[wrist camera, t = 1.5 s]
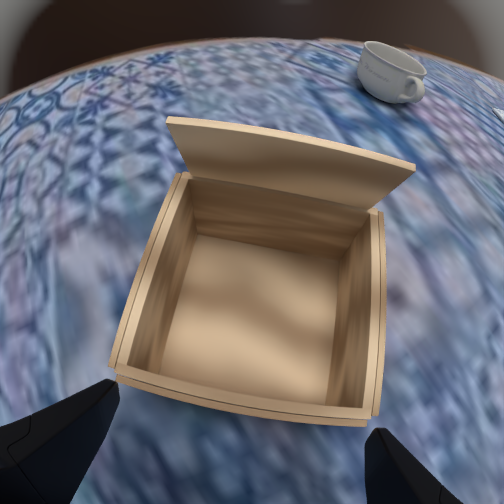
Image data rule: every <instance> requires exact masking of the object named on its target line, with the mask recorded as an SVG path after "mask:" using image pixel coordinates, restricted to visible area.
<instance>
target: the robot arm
mask: <svg viewBox="0 0 504 504" xmlns="http://www.w3.org/2000/svg"><path fill="white" fill-rule="evenodd" d="M119 401H120V396H119V388H118V383H117V382H116V381H113V380H110V379H104V380H102V381H100V382H98V383H96V384H94V385H92V386H90V387H88V388H86V389H84V390H82V391H80V392H78V393H76V394H74V395H72V396H70V397H68V398H66V399H63V400H61V401H59V402H57V403H55V404H53V405H51V406H49V407H46V408H44V409H42V410H40V411H38V412H36V413H34V414H32V416H31V415H29V416H27V417H25V418H22V419H20V420H17V421H15V422H13V423H10V424H7V425H4V426H1V427H0V504H70V503H71V501H72V499H73V497H74V495H75V493H76V491H77V489H78V487H79V485H80V483H81V481H82V480H83V478H84V476H85V474H86V472H87V470H88V468H89V466H90V465H91V463H92V461H93V459H94V457H95V455H96V454H97V452H98V450H99V448H100V446H101V444H102V443H103V441H104V439H105V437H106V435H107V432H108V430H109V427H110V425H111V422H112V420H113V417H114V415H115V412H116V410H117V407H118V405H119ZM365 488H366V497H367V504H463V503H462V502H461V501H460V500H458V499H457V498H456V497H455V496H454V495H453V494H452V493H451V492H449V491H448V490H447V489H446V488H445V487H444V486H443V485H442V484H441V483H440V482H439V481H438V480H437V479H436V478H435V477H434V476H433V475H432V474H431V473H430V472H429V471H428V470H427V469H426V468H425V467H424V466H423V465H422V464H421V463H420V462H419V461H418V460H417V459H416V458H415V457H414V456H413V455H412V454H411V453H410V452H409V451H408V450H407V449H406V448H405V447H404V446H403V445H402V444H401V443H400V442H399V441H398V440H397V439H396V438H395V437H394V436H393V435H392V434H391V433H390V431H389V430H388V429H386V428H375V429H374V430H373V431H372V433H371V434H370V436H369V437H368V439H367V440H366V443H365Z"/></svg>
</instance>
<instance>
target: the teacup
mask: <svg viewBox="0 0 504 504" xmlns="http://www.w3.org/2000/svg"><path fill="white" fill-rule="evenodd" d="M426 74H427V72H426V69H425V68H424V67H423V66H422V65H421V64H420V63H419V62H418V61H417V60H415V59H414V58H412V57H411V56H409V55H408V54H406V53H404V52H402V51H400V50H398V49H396V48H394V47H391V46H389V45H386V44H383V43H379V42H375V41H367V42H365V43H364V48H363V51H362V54H361V57H360V60H359V64H358V68H357V75H358V78H359V80H360V82H361V83H362V85H363V87H364V88H365V89H366V91H367V92H369V93H370V94H371V95H373V96H374V97H376V98H378V99H380V100H382V101H385V102H388V103H405V102H411V103H416V102H419V101H420V100H421V99H422V98H423V96H424V93H425V87H424V84H423V82H422V80H423V78H424V76H425V75H426Z"/></svg>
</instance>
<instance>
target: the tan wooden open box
mask: <svg viewBox="0 0 504 504" xmlns="http://www.w3.org/2000/svg"><path fill="white" fill-rule="evenodd" d="M385 334H386V249H385V230H384V216H383V212H380V211H378V209H377V208H373V207H372V208H370V209H369V210H368V209H363V208H359V207H355V206H351V205H346V204H342V203H337V202H333V201H328V200H323V199H319V198H314V197H309V196H304V195H299V194H294V193H289V192H284V191H279V190H274V189H268V188H263V187H257V186H251V185H246V184H240V183H234V182H228V181H222V180H215V179H209V178H202V177H195V176H191V174H190V172H183V173H176V175H175V177H174V179H173V181H172V184H171V186H170V188H169V191H168V193H167V195H166V198H165V200H164V203H163V205H162V207H161V210H160V212H159V215H158V217H157V220H156V222H155V225H154V227H153V230H152V232H151V235H150V237H149V240H148V243H147V245H146V248H145V251H144V253H143V256H142V259H141V262H140V264H139V267H138V270H137V273H136V276H135V279H134V282H133V284H132V287H131V290H130V293H129V296H128V299H127V303H126V306H125V309H124V312H123V315H122V318H121V322H120V325H119V328H118V332H117V335H116V338H115V342H114V345H113V349H112V353H111V356H110V360H109V364H108V367H111V368H114V369H115V370H114V372H115V373H118V374H121V375H124V376H127V377H124V376H121V375H118V374H117V376H116V380H115V381H117V382H120V383H123V384H126V385H129V386H132V387H135V388H138V389H141V390H144V391H148V392H151V393H154V394H158V395H161V396H165V397H168V398H172V399H176V400H180V401H184V402H188V403H192V404H196V405H200V406H204V407H209V408H213V409H218V410H223V411H228V412H233V413H238V414H244V415H250V416H256V417H262V418H269V419H276V420H283V421H291V422H300V423H310V424H322V425H336V426H356V427H366V426H367V420H359V419H371V416H378V415H379V407H380V399H381V389H382V379H383V367H384V353H385ZM128 377H130V378H128ZM131 378H133V379H131ZM134 379H136V380H134ZM137 380H139V381H137ZM141 381H143V382H141ZM144 382H146V383H144ZM148 383H149V384H148ZM151 384H153V385H151ZM154 385H156V386H154ZM158 386H160V387H158ZM161 387H163V388H161ZM165 388H167V389H165ZM169 389H171V390H169ZM172 390H174V391H172ZM176 391H178V392H176ZM180 392H182V393H180ZM184 393H186V394H184ZM188 394H190V395H188ZM192 395H194V396H192ZM196 396H198V397H196ZM200 397H203V398H200ZM205 398H207V399H205ZM209 399H212V400H209ZM214 400H216V401H214ZM218 401H221V402H218ZM223 402H226V403H223ZM228 403H231V404H228ZM233 404H236V405H233ZM239 405H241V406H239ZM244 406H247V407H244ZM250 407H253V408H250ZM256 408H259V409H256ZM262 409H265V410H262ZM268 410H272V411H268ZM275 411H279V412H275ZM283 412H286V413H283ZM290 413H294V414H290ZM299 414H303V415H299ZM308 415H313V416H308ZM318 416H324V417H318ZM330 417H337V418H330ZM343 418H354V419H343Z"/></svg>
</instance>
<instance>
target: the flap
mask: <svg viewBox="0 0 504 504" xmlns="http://www.w3.org/2000/svg"><path fill="white" fill-rule="evenodd" d="M166 125H167V127H168V129H169V131H170V133H171V135H172V137H173V139H174V141H175V143H176V145H177V147H178V149H179V151H180V154H181V156H182V158H183V160H184V162H185V164H186V166H187V168H188V170H189V172H190V174H191V176H195V177H202V178H209V179H215V180H222V181H228V182H234V183H240V184H246V185H251V186H257V187H263V188H268V189H274V190H279V191H284V192H289V193H294V194H299V195H304V196H309V197H314V198H319V199H323V200H328V201H333V202H337V203H342V204H346V205H351V206H355V207H359V208H363V209H368V210H369V209H370V208H372V207H373V206H374V205H375V204H377V203H378V202H379V201H380V200H382V199H383V198H384V197H385V196H386V195H388V194H389V193H390V192H391V191H393V190H394V189H395V188H396V187H397V186H399V185H400V184H401V183H402V182H404V181H405V180H406V179H407V178H408V177H410V176H411V175H412V174H413V173H414V172H416V170H415V164H412V163H409V162H406V161H403V160H400V159H396V158H393V157H390V156H386V155H383V154H379V153H376V152H372V151H369V150H365V149H361V148H357V147H353V146H350V145H346V144H341V143H337V142H333V141H329V140H324V139H320V138H315V137H311V136H306V135H301V134H296V133H291V132H286V131H280V130H275V129H269V128H263V127H257V126H250V125H244V124H236V123H229V122H221V121H213V120H204V119H194V118H183V117H171V116H168V118H167V121H166Z"/></svg>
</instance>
